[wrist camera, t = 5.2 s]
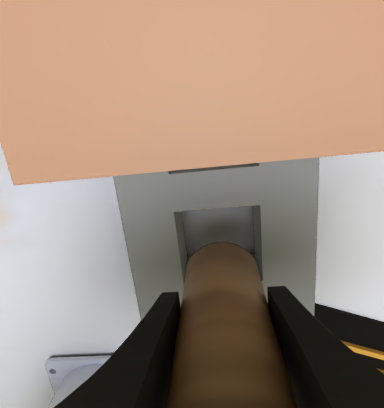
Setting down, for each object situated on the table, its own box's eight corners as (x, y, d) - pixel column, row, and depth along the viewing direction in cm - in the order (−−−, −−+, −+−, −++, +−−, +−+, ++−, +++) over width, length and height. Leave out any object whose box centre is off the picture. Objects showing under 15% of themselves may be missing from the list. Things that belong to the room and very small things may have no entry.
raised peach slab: (310, 122, 16) (434, 146, 7) (116, 142, 17) (14, 185, 8) (312, 6, 14) (480, -154, 5) (96, 35, 15) (-62, -59, 6)
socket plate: (299, 286, 20) (314, 317, 17) (151, 294, 20) (141, 325, 18) (301, 53, 15) (322, 42, 12) (113, 76, 16) (92, 71, 13)
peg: (260, 300, 13) (309, 491, 7) (192, 306, 14) (174, 494, 7) (254, 237, 12) (304, 389, 6) (180, 246, 13) (148, 399, 6)
